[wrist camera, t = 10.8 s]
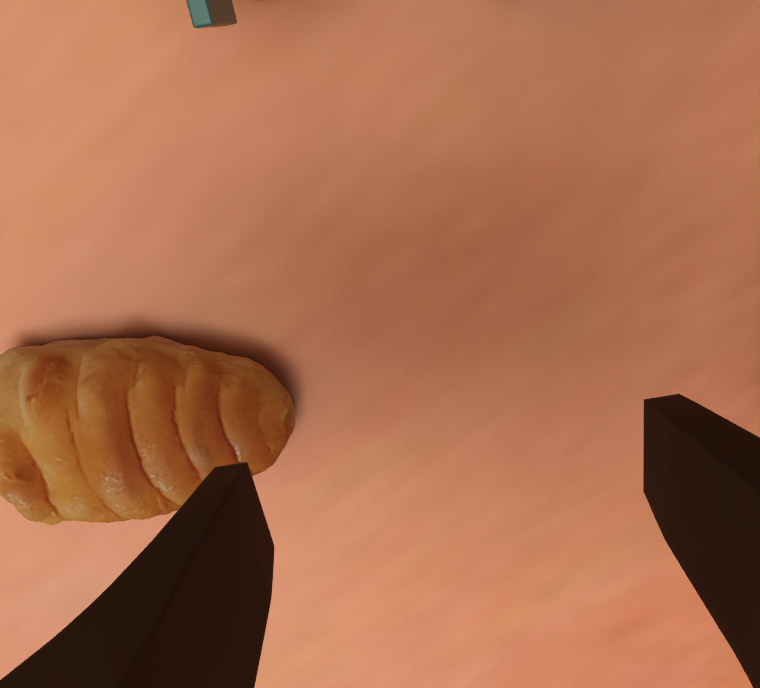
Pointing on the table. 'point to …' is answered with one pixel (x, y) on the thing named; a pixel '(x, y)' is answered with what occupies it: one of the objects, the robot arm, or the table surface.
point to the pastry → (129, 425)
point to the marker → (211, 13)
